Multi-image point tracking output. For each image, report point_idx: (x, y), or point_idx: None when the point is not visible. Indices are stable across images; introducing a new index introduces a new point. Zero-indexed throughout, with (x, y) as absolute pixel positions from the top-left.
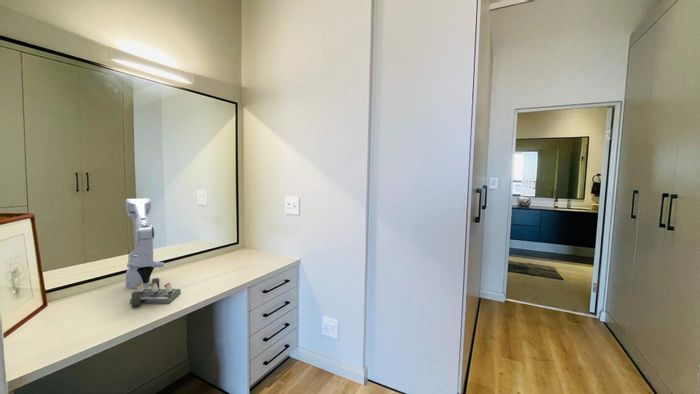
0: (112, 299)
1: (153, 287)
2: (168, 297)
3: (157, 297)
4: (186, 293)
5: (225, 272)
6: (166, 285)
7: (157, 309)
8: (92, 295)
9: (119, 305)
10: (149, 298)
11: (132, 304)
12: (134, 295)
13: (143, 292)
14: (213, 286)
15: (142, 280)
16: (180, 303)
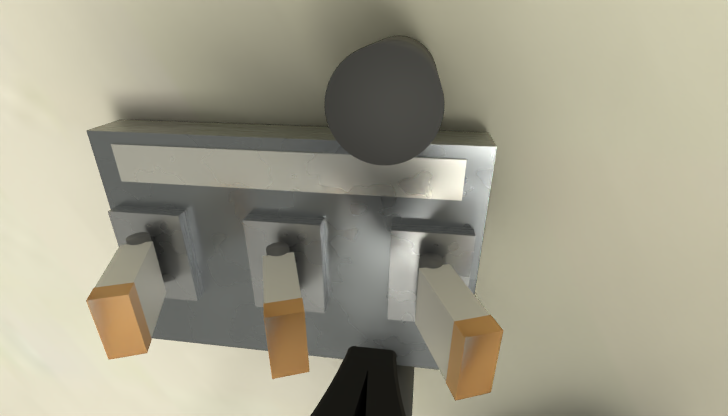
0: (720, 251)
1: (267, 289)
2: (121, 175)
3: (224, 179)
4: None
5: None
6: (95, 292)
7: (147, 2)
8: None
9: (590, 111)
10: (289, 159)
11: (416, 42)
12: (374, 45)
13: None
14: (37, 386)
15: (398, 386)
16: (41, 131)
